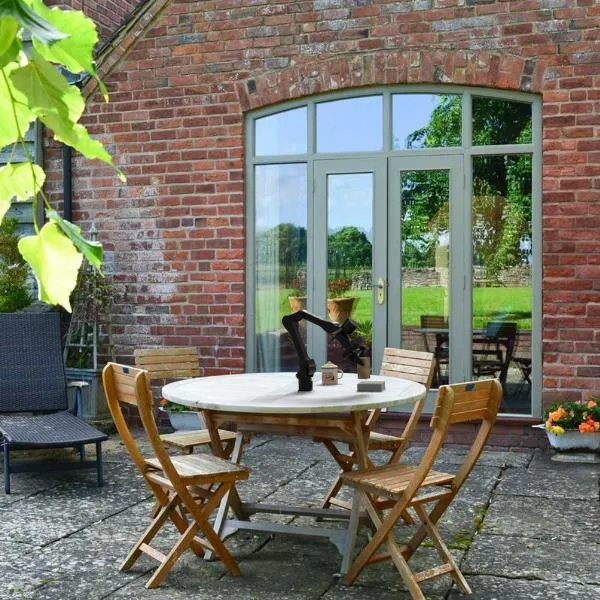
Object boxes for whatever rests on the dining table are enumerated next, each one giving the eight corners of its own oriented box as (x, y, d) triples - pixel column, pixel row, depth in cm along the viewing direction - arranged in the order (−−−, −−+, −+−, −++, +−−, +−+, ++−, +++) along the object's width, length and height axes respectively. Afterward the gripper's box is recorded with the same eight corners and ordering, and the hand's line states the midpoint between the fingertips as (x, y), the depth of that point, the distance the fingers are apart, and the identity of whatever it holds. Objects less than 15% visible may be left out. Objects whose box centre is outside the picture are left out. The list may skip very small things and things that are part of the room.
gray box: (357, 392, 411) (357, 384, 411) (361, 389, 423) (361, 381, 423) (381, 392, 408) (381, 383, 408) (385, 389, 420) (385, 381, 420)
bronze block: (357, 379, 403) (357, 358, 403) (362, 378, 406) (361, 357, 406) (366, 379, 400) (365, 358, 400) (370, 378, 404) (369, 357, 404)
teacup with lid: (319, 384, 446) (318, 362, 446) (324, 382, 455) (323, 360, 455) (341, 384, 443) (340, 362, 442) (345, 382, 451) (345, 360, 451)
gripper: (345, 331, 397) (367, 354, 392) (364, 328, 413) (385, 351, 407) (331, 347, 402) (352, 371, 396) (351, 344, 417) (371, 367, 412)
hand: (366, 365), depth 403 cm, fingers closed on bronze block, 4 cm apart
